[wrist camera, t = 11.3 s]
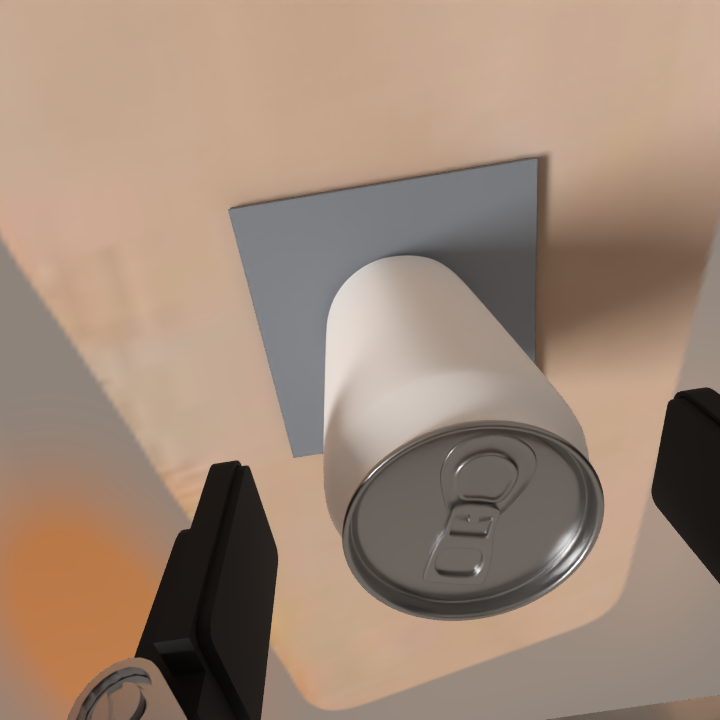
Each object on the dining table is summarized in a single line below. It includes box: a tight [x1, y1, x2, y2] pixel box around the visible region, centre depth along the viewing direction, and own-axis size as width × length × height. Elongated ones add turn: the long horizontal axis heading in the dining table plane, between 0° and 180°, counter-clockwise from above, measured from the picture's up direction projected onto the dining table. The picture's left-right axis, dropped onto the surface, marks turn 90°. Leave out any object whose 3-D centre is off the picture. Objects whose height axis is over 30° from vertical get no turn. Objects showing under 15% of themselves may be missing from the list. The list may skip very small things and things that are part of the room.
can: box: [323, 255, 604, 621], centre depth 16 cm, size 6×6×12 cm
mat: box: [228, 158, 537, 458], centre depth 21 cm, size 12×12×1 cm
